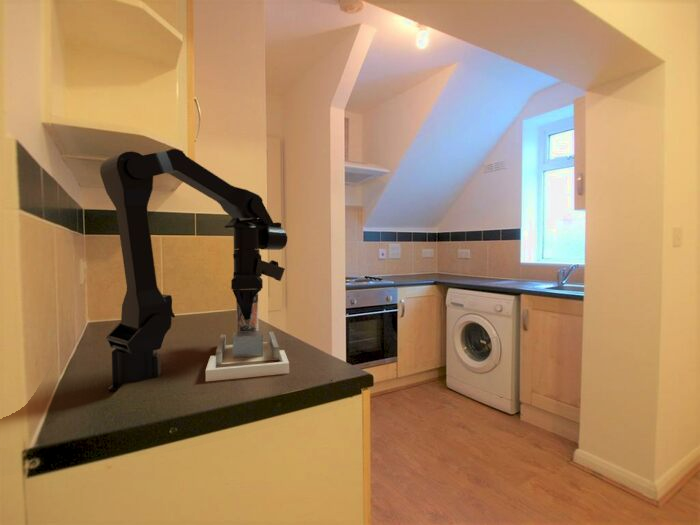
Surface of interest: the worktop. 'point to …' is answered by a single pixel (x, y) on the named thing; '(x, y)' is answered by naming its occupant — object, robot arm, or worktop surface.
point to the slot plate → (226, 357)
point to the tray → (246, 369)
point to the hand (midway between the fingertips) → (247, 317)
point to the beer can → (248, 323)
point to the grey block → (247, 344)
